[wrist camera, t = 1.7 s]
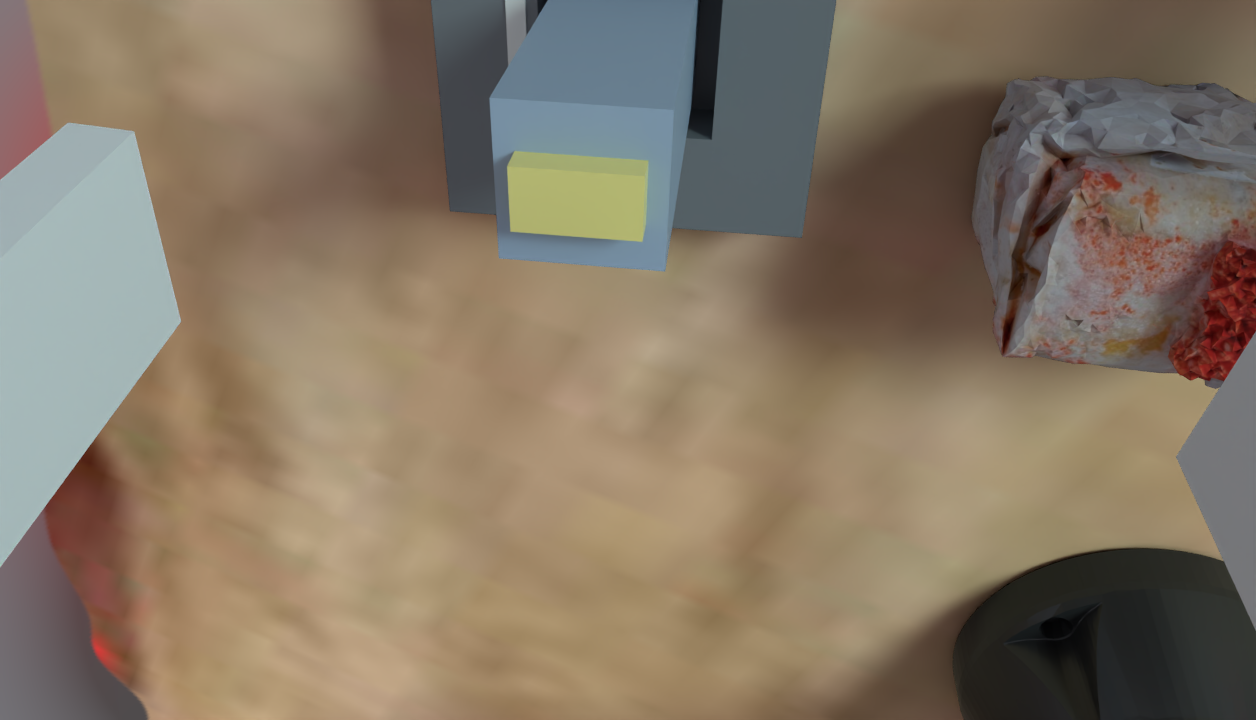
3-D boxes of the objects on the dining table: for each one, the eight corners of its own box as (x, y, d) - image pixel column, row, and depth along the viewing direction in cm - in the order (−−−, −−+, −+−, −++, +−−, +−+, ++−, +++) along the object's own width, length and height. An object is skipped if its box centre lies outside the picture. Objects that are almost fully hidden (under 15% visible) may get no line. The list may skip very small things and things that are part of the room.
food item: (934, 254, 37) (981, 425, 29) (988, 38, 32) (1062, 172, 24) (1321, 287, 36) (1480, 473, 28) (1435, 69, 31) (1667, 218, 23)
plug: (694, 86, 33) (662, 289, 23) (575, 79, 33) (491, 275, 23) (702, -39, 31) (671, 124, 21) (574, -46, 31) (480, 111, 21)
